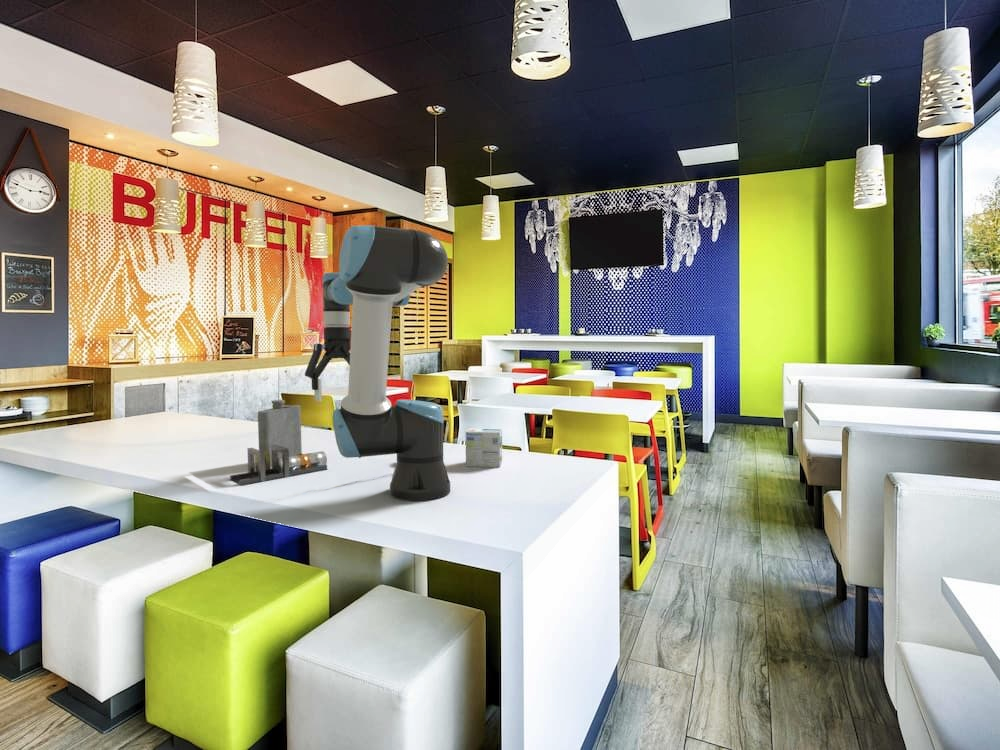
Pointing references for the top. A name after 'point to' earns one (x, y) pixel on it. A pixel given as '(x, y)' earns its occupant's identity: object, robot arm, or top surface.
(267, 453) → the aperture plate
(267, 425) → the hip flask
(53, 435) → the top surface
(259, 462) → the grey metal bracket
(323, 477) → the top surface
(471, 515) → the top surface
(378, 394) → the robot arm
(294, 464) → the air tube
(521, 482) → the top surface
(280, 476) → the black base plate
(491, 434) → the light bulb box
